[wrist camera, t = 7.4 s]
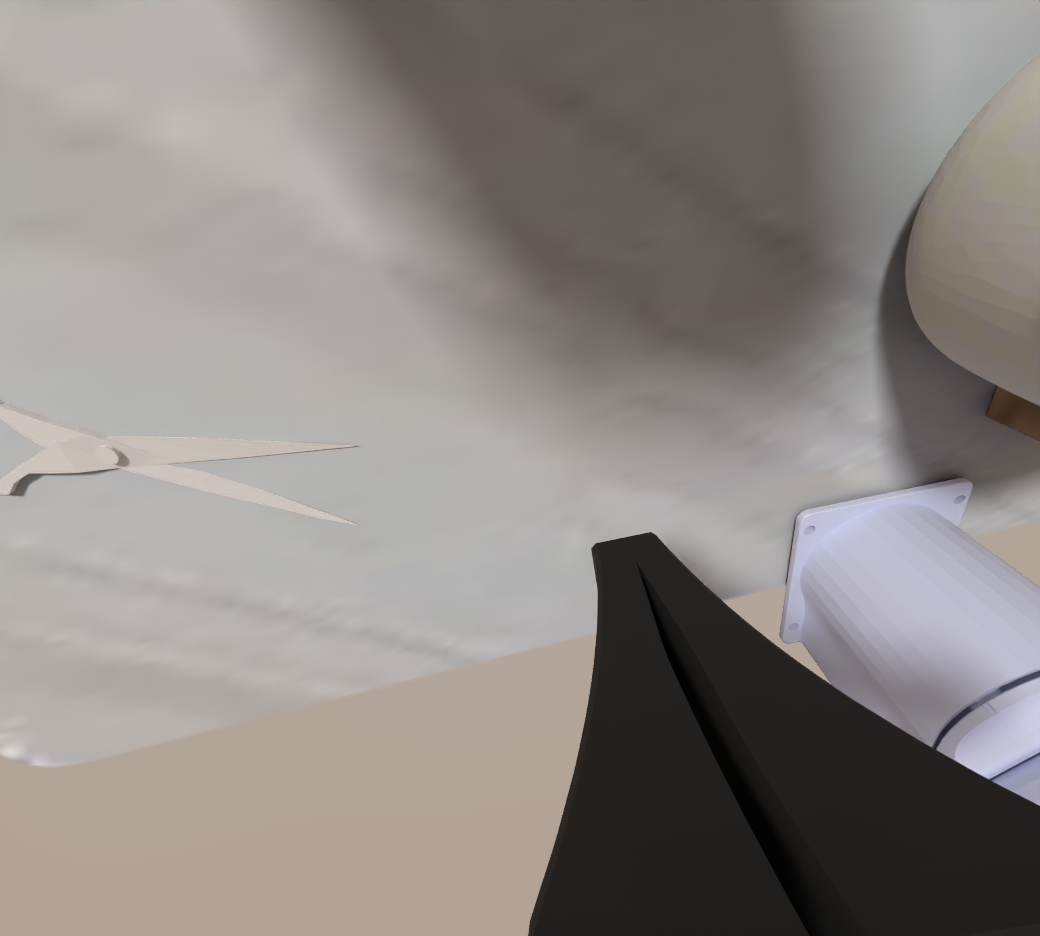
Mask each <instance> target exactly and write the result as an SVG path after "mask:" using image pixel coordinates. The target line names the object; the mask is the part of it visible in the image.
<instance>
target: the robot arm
mask: <svg viewBox="0 0 1040 936" xmlns="http://www.w3.org/2000/svg"><path fill="white" fill-rule="evenodd" d="M972 489H973V484H972V483H971V482H970V481H968V480H967V479H965V478H958V479H953V480H948V481H943V482H938V483H933V484H928V485H924V486H919V487H914V488H909V489H904V490H899V491H894V492H890V493H885V494H880V495H875V496H870V497H865V498H860V499H856V500H851V501H846V502H841V503H836V504H831V505H826V506H822V507H817V508H812V509H807V510H804V511H802V512H801V513H800V514H799V515H798V516H797V519H796V524H795V531H794V538H793V545H792V552H791V558H790V565H789V572H788V579H787V586H786V593H785V600H784V607H783V614H782V621H781V627H780V638H781V639H782V641H783V642H784V643H795V642H800V641H801V642H802V643H803V644H804V646H805V647H806V649H807V650H808V652H809V653H810V655H811V656H812V657H813V659H814V660H815V662H816V663H817V665H818V666H819V667H820V669H821V670H822V672H823V673H824V674H825V676H826V677H827V679H828V680H829V682H830V683H831V685H830V684H829V683H828V682H826V681H825V680H823V679H822V678H820V677H819V676H817V675H816V674H814V673H813V672H812V671H810V670H809V669H808V668H806V667H805V666H803V665H802V664H800V663H799V662H797V661H796V660H795V659H794V658H792V657H791V656H789V655H788V654H787V653H785V652H784V651H783V650H781V649H780V648H779V647H777V646H776V645H775V644H774V643H772V642H771V641H770V640H768V639H767V638H766V637H765V636H763V635H762V634H761V633H760V632H758V631H757V630H756V629H755V628H753V627H752V626H751V625H750V624H749V623H747V622H746V621H745V620H744V619H742V618H741V617H740V616H739V615H738V614H736V613H735V612H734V611H733V610H732V609H731V608H730V607H728V606H727V605H726V604H725V603H724V602H723V601H722V600H721V599H720V598H718V597H717V596H716V595H715V594H714V593H713V592H712V591H711V590H710V589H708V588H707V587H706V586H705V585H704V584H703V583H702V582H701V581H700V580H699V579H698V578H697V577H696V576H695V575H694V574H693V573H692V572H691V571H690V570H688V569H687V568H686V567H685V566H684V565H683V564H682V563H681V562H680V561H679V559H678V558H677V557H676V556H675V555H674V554H673V553H672V552H671V551H670V550H669V549H668V548H667V547H666V546H665V545H664V544H663V543H662V541H661V540H660V539H659V538H658V537H657V536H656V535H655V534H653V533H652V532H649V533H644V534H640V535H635V536H630V537H625V538H620V539H615V540H611V541H606V542H601V543H596V544H595V545H594V546H593V547H592V548H591V550H592V556H593V563H594V569H595V575H596V582H597V588H598V617H597V635H596V646H595V658H594V667H593V675H592V682H591V689H590V695H589V701H588V707H587V713H586V718H585V723H584V728H583V733H582V738H581V743H580V748H579V752H578V757H577V761H576V766H575V770H574V774H573V778H572V782H571V785H570V789H569V793H568V797H567V800H566V804H565V808H564V812H563V815H562V820H561V823H560V827H559V830H558V834H557V837H556V841H555V844H554V848H553V851H552V854H551V857H550V860H549V863H548V867H547V870H546V873H545V876H544V879H543V882H542V885H541V888H540V891H539V895H538V898H537V901H536V904H535V907H534V910H533V913H532V917H531V920H530V925H529V935H528V936H1040V587H1039V586H1038V585H1037V584H1035V583H1034V582H1032V581H1031V580H1030V579H1028V578H1027V577H1025V576H1024V575H1023V574H1021V573H1020V572H1019V571H1017V570H1016V569H1015V568H1013V567H1012V566H1010V565H1009V564H1008V563H1006V562H1005V561H1004V560H1002V559H1001V558H1000V557H998V556H997V555H995V554H994V553H993V552H991V551H990V550H989V549H987V548H986V547H984V546H983V545H982V544H980V543H979V542H978V541H976V540H975V539H973V538H972V537H971V536H969V535H968V534H967V533H965V532H964V531H962V530H961V529H960V528H958V526H959V523H960V520H961V518H962V515H963V513H964V510H965V507H966V505H967V502H968V500H969V497H970V494H971V492H972ZM807 527H808V528H807Z"/></svg>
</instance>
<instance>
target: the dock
mask: <svg viewBox="0 0 1040 936" xmlns="http://www.w3.org/2000/svg"><path fill="white" fill-rule="evenodd" d="M986 416H987V417H989V418H991V419H993V420H996V421H998V422H1000V423H1002V424H1004V425H1006V426H1008V427H1010V428H1012V429H1015V430H1017V431H1019V432H1021V433H1023V434H1025V435H1027V436H1029V437H1032V438H1034V439H1036V440H1038V441H1040V406H1039V405H1037V404H1034V403H1032V402H1030V401H1028V400H1026V399H1024V398H1021V397H1019V396H1017V395H1015V394H1013V393H1011V392H1009V391H1007V390H1005V389H1003V388H1001V387H999V386H997V388H996V391H995V393H994V396H993V399H992V402H991V404H990V407H989V410H988V413H987V415H986Z"/></svg>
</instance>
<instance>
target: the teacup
mask: <svg viewBox="0 0 1040 936" xmlns="http://www.w3.org/2000/svg"><path fill="white" fill-rule="evenodd" d="M905 277H906V290H907V294H908V299H909V303H910V307H911V310H912V313H913V316H914V318H915V320H916V322H917V324H918V325H919V327H920V328H921V330H922V331H923V333H924V334H925V336H926V337H927V338H928V339H929V340H930V342H931V343H932V344H933V345H934V346H935V347H936V348H937V349H939V350H940V351H941V352H942V353H943V354H944V355H945V356H947V357H948V358H949V359H951V360H952V361H954V362H955V363H957V364H958V365H960V366H962V367H963V368H965V369H967V370H968V371H970V372H972V373H974V374H976V375H978V376H980V377H981V378H983V379H985V380H987V381H989V382H991V383H993V384H995V385H997V386H999V387H1001V388H1003V389H1005V390H1007V391H1009V392H1011V393H1013V394H1015V395H1017V396H1019V397H1021V398H1024V399H1026V400H1028V401H1030V402H1032V403H1034V404H1037V405H1039V406H1040V55H1039V56H1037V57H1036V58H1035V59H1034V60H1032V61H1031V62H1030V63H1029V64H1027V65H1026V66H1025V67H1024V68H1023V69H1022V70H1021V71H1020V72H1019V73H1018V74H1016V75H1015V76H1014V77H1013V78H1012V79H1011V80H1010V81H1009V82H1008V83H1007V84H1006V85H1005V86H1004V87H1003V88H1002V89H1001V90H1000V91H999V92H998V93H997V94H996V95H995V96H994V97H993V98H992V99H991V100H990V101H989V102H988V103H987V104H986V105H985V106H984V107H983V108H982V109H981V111H980V112H979V113H978V114H977V115H976V117H975V118H974V119H973V120H972V121H971V122H970V124H969V125H968V126H967V128H966V129H965V130H964V132H963V133H962V134H961V136H960V137H959V138H958V140H957V141H956V142H955V144H954V145H953V146H952V148H951V149H950V151H949V152H948V154H947V155H946V157H945V158H944V160H943V162H942V163H941V165H940V167H939V169H938V170H937V172H936V174H935V175H934V177H933V179H932V181H931V183H930V185H929V187H928V189H927V191H926V193H925V196H924V198H923V200H922V202H921V204H920V207H919V209H918V212H917V215H916V217H915V220H914V224H913V227H912V231H911V234H910V238H909V244H908V249H907V256H906V270H905Z"/></svg>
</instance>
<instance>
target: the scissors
mask: <svg viewBox="0 0 1040 936" xmlns="http://www.w3.org/2000/svg"><path fill="white" fill-rule="evenodd" d="M0 419H2V420H3V421H4V422H6V423H7V424H8V425H9V426H11V427H12V428H13V429H15V430H16V431H17V432H19V433H21V434H22V435H24V436H25V437H27V438H29V439H30V440H32V441H33V442H35V443H37V444H38V445H40V446H42V447H46V449H44V450H43V451H41V452H40V453H38V454H37V455H35V456H34V457H32V458H30V459H29V460H27V461H26V462H24V463H23V464H21V465H20V466H18V467H17V468H16V469H14V470H13V471H11V472H10V473H9V474H7V475H5V476H4V477H2V478H0V494H1V495H9V494H11V493H12V492H14V491H15V490H16V488H17V486H18V483H19V481H20V479H21V478H23V477H24V476H26V475H27V474H29V473H48V474H53V473H81V472H89V471H98V470H106V469H115V468H120V469H124V470H128V471H131V472H135V473H139V474H143V475H146V476H150V477H154V478H157V479H161V480H165V481H169V482H172V483H176V484H180V485H184V486H187V487H191V488H195V489H198V490H202V491H206V492H211V493H215V494H219V495H223V496H227V497H231V498H235V499H240V500H244V501H248V502H253V503H257V504H262V505H266V506H271V507H275V508H279V509H284V510H288V511H292V512H296V513H300V514H304V515H308V516H313V517H317V518H321V519H327V520H333V521H339V522H344V523H350V524H355V523H353V522H350V521H347V520H344V519H342V518H339V517H336V516H333V515H331V514H328V513H325V512H322V511H320V510H317V509H314V508H311V507H309V506H306V505H303V504H300V503H298V502H295V501H292V500H289V499H287V498H284V497H281V496H278V495H276V494H273V493H270V492H267V491H264V490H261V489H258V488H255V487H251V486H248V485H244V484H241V483H237V482H234V481H231V480H228V479H224V478H221V477H218V476H215V475H212V474H209V473H206V472H203V471H198V470H192V469H186V468H182V467H177V466H172V465H167V464H171V463H183V462H195V461H207V460H219V459H231V458H243V457H253V456H263V455H273V454H283V453H293V452H303V451H313V450H323V449H333V448H343V447H353V446H352V445H334V444H317V443H299V442H281V441H262V440H240V439H218V438H190V437H145V436H109V437H108V436H105V435H103V434H100V433H97V432H94V431H91V430H87V429H84V428H80V427H77V426H74V425H70V424H67V423H63V422H60V421H56V420H53V419H50V418H47V417H44V416H41V415H38V414H36V413H33V412H30V411H27V410H25V409H22V408H19V407H16V406H13V405H10V404H6V403H4V402H2V401H1V400H0ZM356 525H358V524H356Z"/></svg>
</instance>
